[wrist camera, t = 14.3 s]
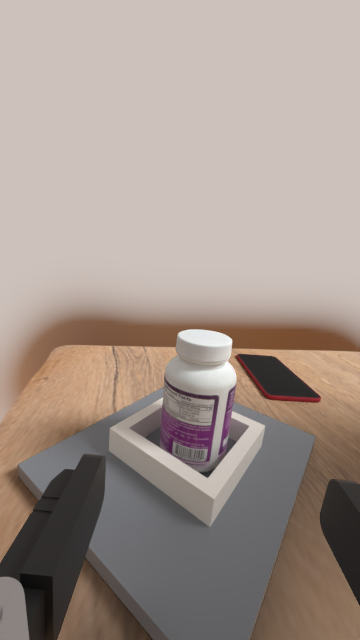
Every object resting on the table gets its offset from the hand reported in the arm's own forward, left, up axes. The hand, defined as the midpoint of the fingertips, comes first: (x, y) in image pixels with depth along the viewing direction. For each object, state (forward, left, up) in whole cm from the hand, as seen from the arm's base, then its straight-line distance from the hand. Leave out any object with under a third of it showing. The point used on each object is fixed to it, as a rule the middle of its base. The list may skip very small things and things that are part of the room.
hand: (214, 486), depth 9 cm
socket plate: (-9, -6, -8) cm, 13 cm away
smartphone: (-32, -6, -9) cm, 33 cm away
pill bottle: (-9, -6, -7) cm, 13 cm away
